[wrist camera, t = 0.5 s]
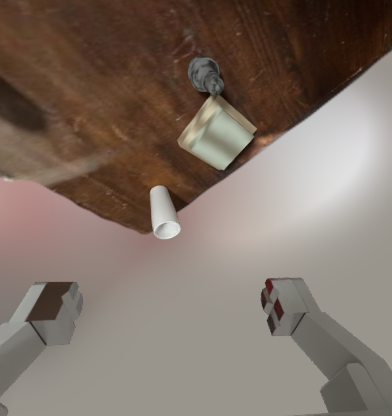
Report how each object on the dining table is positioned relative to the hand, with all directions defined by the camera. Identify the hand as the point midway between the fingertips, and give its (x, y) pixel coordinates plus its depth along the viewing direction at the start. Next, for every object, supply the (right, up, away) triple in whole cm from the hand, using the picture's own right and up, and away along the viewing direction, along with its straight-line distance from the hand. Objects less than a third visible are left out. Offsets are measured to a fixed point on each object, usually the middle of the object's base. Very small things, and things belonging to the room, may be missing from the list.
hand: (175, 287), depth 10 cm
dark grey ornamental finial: (+2, +32, +36) cm, 48 cm away
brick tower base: (+6, +23, +47) cm, 52 cm away
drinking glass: (-10, +8, +56) cm, 57 cm away
